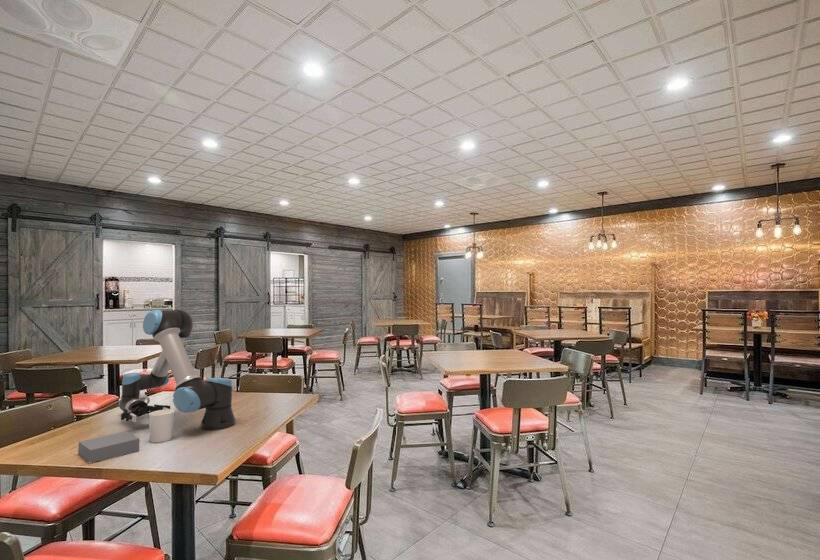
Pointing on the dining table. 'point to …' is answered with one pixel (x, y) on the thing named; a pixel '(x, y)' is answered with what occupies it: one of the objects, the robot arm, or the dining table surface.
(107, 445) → the riser block
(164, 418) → the candle holder
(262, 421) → the dining table surface
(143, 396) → the teacup
